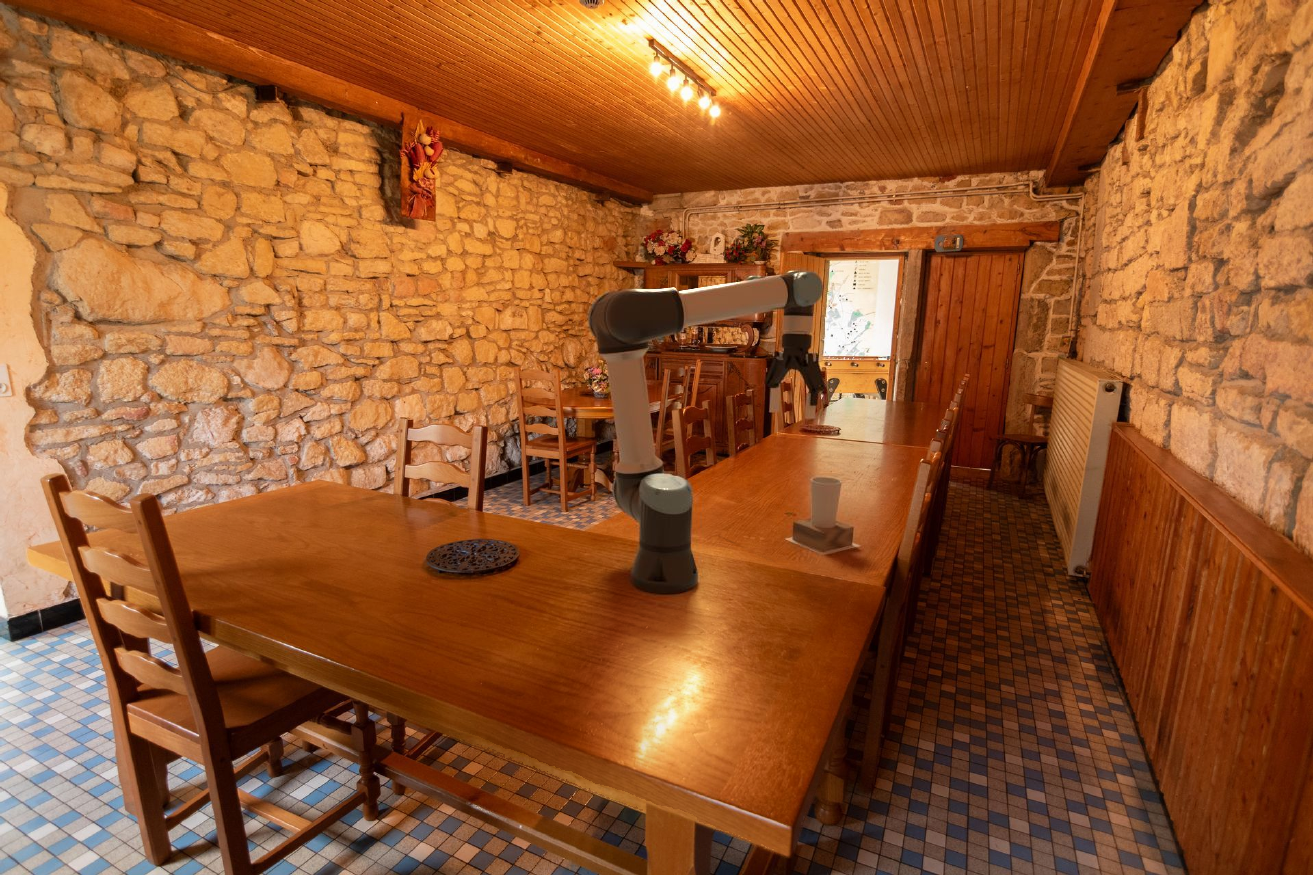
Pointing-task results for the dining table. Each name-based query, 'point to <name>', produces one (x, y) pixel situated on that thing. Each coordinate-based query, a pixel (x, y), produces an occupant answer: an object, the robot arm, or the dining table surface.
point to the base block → (822, 535)
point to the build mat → (825, 551)
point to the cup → (824, 501)
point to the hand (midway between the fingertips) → (791, 415)
